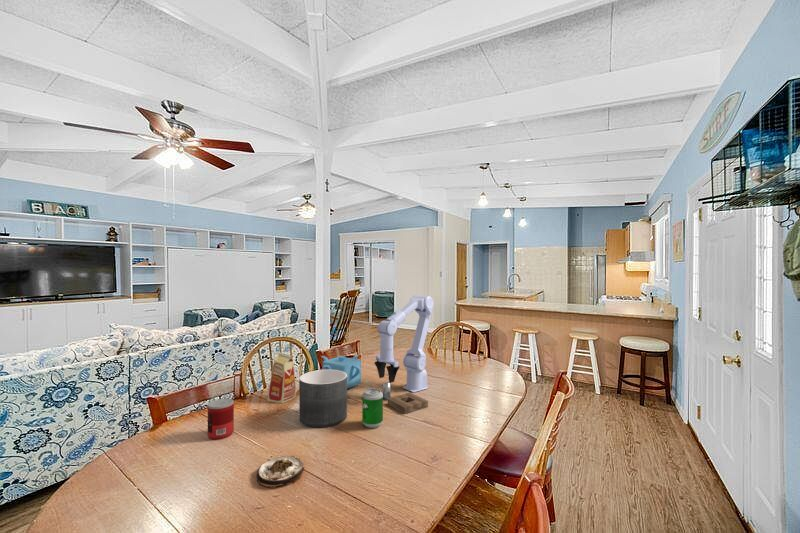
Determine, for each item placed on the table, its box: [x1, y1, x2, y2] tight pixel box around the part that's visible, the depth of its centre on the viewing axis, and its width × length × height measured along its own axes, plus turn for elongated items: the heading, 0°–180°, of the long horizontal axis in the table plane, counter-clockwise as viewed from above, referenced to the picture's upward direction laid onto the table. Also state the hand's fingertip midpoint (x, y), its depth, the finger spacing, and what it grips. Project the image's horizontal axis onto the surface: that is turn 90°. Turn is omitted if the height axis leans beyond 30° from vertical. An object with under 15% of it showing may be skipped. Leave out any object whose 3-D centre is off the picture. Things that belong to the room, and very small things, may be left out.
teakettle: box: [320, 354, 362, 390], centre depth 168 cm, size 19×19×15 cm
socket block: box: [387, 392, 429, 415], centre depth 146 cm, size 12×12×2 cm
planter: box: [298, 369, 348, 429], centre depth 134 cm, size 18×18×16 cm
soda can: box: [361, 388, 384, 429], centre depth 129 cm, size 8×8×12 cm
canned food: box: [207, 398, 235, 441], centre depth 120 cm, size 8×8×11 cm
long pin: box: [382, 381, 392, 402], centre depth 153 cm, size 3×3×7 cm
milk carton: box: [266, 351, 297, 404], centre depth 153 cm, size 9×9×20 cm
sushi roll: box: [256, 455, 305, 489], centre depth 97 cm, size 15×15×4 cm
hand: (386, 379), depth 153 cm, fingers open, 7 cm apart
